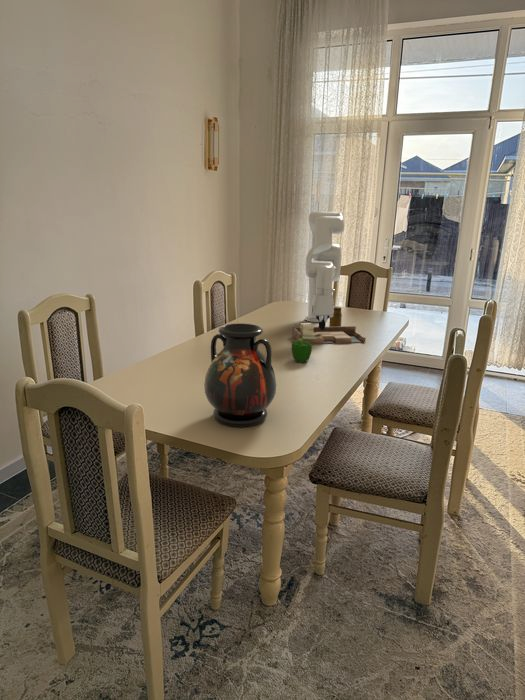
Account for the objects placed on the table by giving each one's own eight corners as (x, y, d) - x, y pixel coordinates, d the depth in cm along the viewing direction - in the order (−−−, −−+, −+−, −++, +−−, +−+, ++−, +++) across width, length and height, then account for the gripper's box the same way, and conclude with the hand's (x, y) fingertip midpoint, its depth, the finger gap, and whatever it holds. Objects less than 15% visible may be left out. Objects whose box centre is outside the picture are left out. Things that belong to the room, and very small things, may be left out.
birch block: (300, 333, 240) (300, 323, 238) (310, 332, 241) (310, 322, 239) (303, 335, 235) (303, 325, 234) (313, 335, 236) (313, 325, 235)
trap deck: (292, 336, 244) (292, 327, 242) (354, 334, 249) (355, 326, 248) (299, 344, 229) (300, 335, 228) (365, 342, 235) (365, 333, 233)
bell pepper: (299, 356, 211) (300, 334, 209) (314, 361, 206) (315, 337, 203) (286, 360, 206) (287, 337, 203) (301, 365, 200) (302, 341, 197)
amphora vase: (191, 425, 144) (189, 332, 136) (223, 399, 164) (222, 317, 156) (260, 438, 137) (262, 341, 129) (284, 409, 156) (287, 323, 149)
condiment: (334, 327, 263) (336, 305, 259) (346, 331, 256) (348, 308, 253) (325, 329, 258) (326, 307, 255) (337, 333, 252) (338, 310, 248)
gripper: (336, 289, 238) (334, 326, 244) (306, 290, 236) (304, 327, 241) (341, 292, 231) (338, 330, 237) (310, 293, 229) (308, 331, 234)
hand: (321, 328), depth 239 cm, fingers closed
